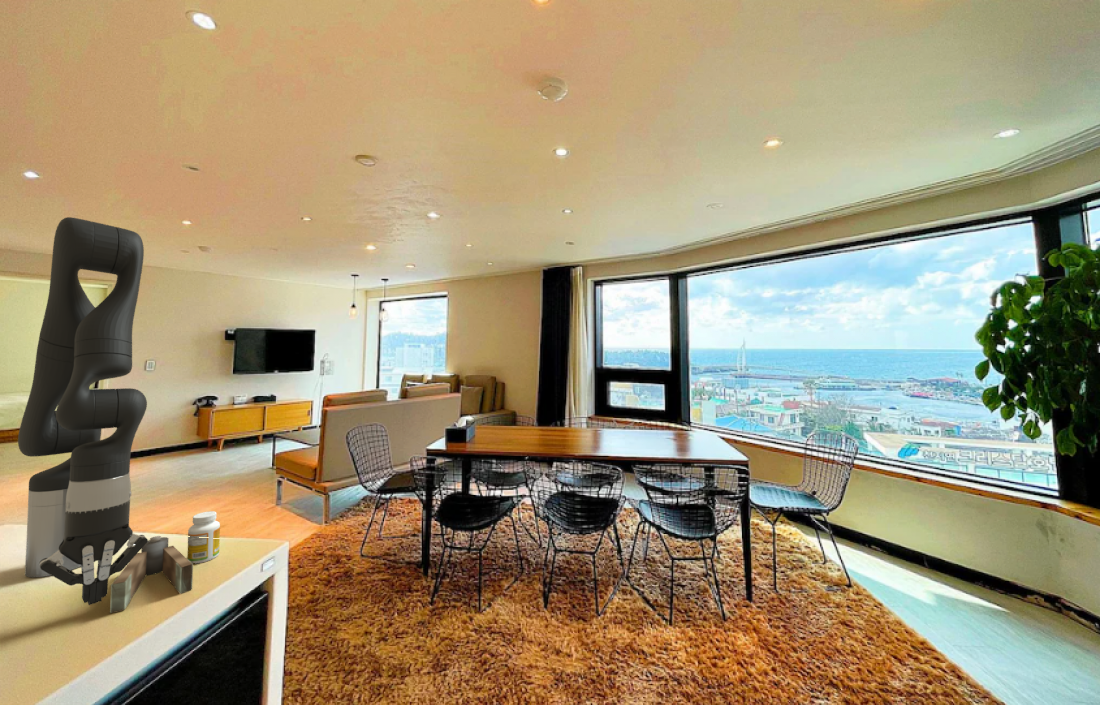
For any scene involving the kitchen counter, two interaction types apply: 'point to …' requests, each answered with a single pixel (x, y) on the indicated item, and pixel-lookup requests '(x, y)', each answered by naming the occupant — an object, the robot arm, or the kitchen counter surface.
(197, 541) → the supplement bottle
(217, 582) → the kitchen counter surface
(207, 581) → the kitchen counter surface
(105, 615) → the kitchen counter surface
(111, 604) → the tong arm
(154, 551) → the tongs frame
